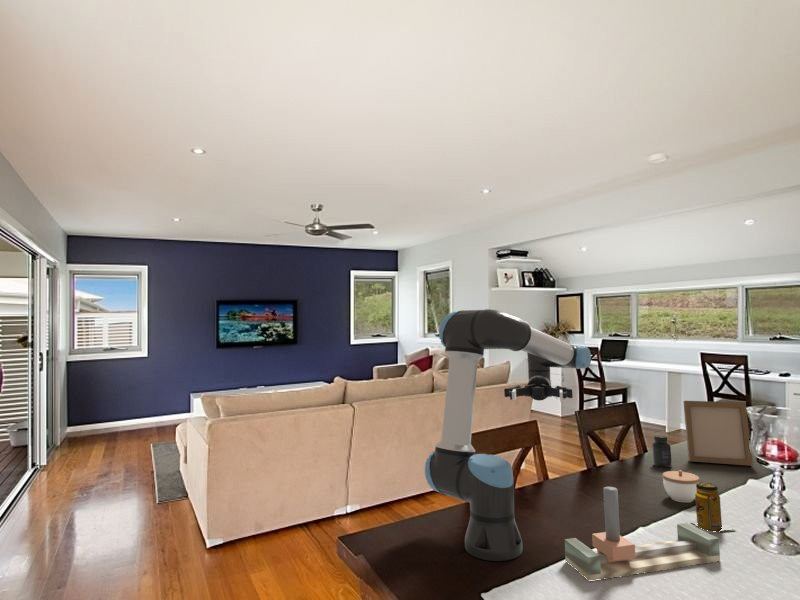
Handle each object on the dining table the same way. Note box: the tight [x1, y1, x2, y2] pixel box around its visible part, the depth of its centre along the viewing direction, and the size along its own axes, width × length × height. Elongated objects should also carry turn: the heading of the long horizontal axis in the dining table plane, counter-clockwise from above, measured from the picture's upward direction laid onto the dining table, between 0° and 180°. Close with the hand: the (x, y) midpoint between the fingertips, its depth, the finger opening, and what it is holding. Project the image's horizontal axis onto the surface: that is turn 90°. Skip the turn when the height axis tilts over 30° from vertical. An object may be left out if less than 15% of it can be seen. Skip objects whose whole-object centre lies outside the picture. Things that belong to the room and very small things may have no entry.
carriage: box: [591, 486, 636, 562], centre depth 120 cm, size 6×8×16 cm
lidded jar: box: [661, 469, 700, 504], centre depth 162 cm, size 11×11×9 cm
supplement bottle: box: [651, 434, 673, 469], centre depth 200 cm, size 7×7×12 cm
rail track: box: [564, 522, 721, 581], centre depth 121 cm, size 36×10×6 cm, turn 103°
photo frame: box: [683, 400, 754, 467], centre depth 206 cm, size 15×22×25 cm
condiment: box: [695, 481, 737, 534], centre depth 140 cm, size 7×8×12 cm
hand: (537, 396), depth 143 cm, fingers open, 13 cm apart
